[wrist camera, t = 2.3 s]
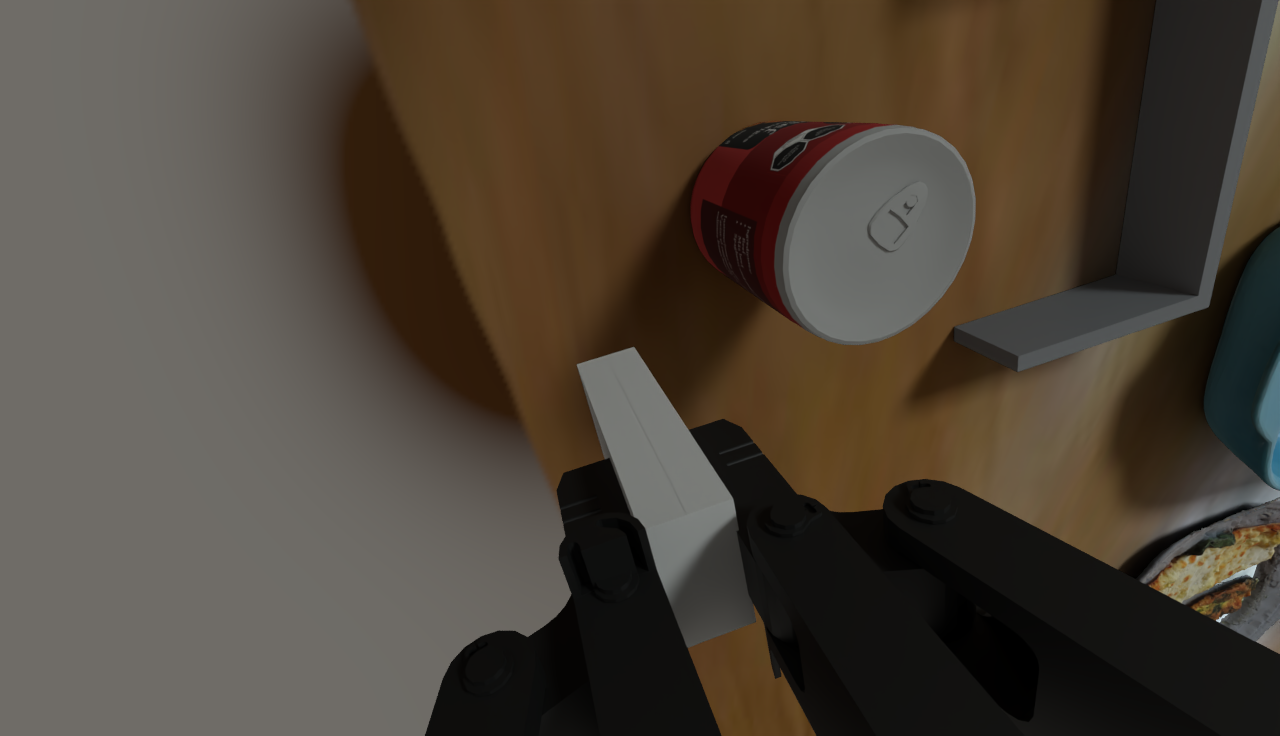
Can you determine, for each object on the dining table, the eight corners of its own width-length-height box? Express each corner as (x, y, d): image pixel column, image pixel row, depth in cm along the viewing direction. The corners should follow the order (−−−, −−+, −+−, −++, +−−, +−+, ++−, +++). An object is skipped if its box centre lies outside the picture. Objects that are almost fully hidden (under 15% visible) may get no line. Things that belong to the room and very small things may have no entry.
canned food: (847, 150, 31) (1016, 168, 21) (785, 292, 33) (911, 368, 24) (720, 95, 28) (846, 86, 19) (663, 253, 31) (748, 320, 21)
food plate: (1062, 722, 60) (1095, 755, 57) (1084, 552, 50) (1126, 581, 47) (1255, 629, 64) (1296, 655, 61) (1312, 454, 54) (1364, 475, 51)
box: (963, -127, 27) (1059, -173, 23) (1199, -177, 29) (1330, -230, 24) (954, 341, 38) (1017, 371, 33) (1126, 284, 39) (1208, 307, 35)
